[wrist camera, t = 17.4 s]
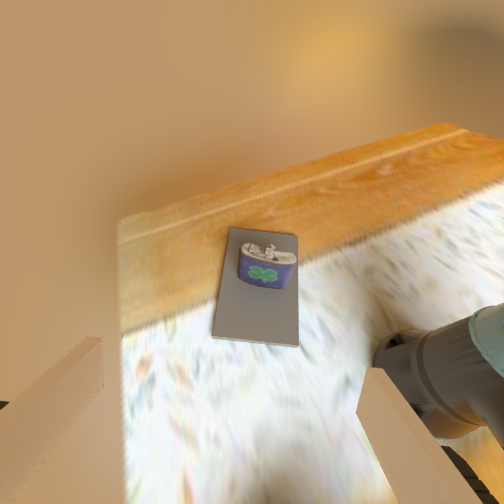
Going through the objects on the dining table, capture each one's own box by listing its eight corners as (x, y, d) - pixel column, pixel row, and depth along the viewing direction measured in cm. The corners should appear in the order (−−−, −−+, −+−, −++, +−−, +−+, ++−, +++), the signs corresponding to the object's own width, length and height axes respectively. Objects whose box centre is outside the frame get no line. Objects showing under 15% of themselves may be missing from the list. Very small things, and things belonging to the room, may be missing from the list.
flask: (287, 278, 48) (301, 246, 39) (285, 292, 46) (299, 263, 37) (238, 267, 48) (241, 233, 39) (235, 281, 47) (236, 249, 37)
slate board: (296, 239, 55) (297, 235, 53) (296, 347, 43) (298, 345, 41) (230, 231, 54) (230, 227, 53) (212, 338, 42) (212, 335, 41)
